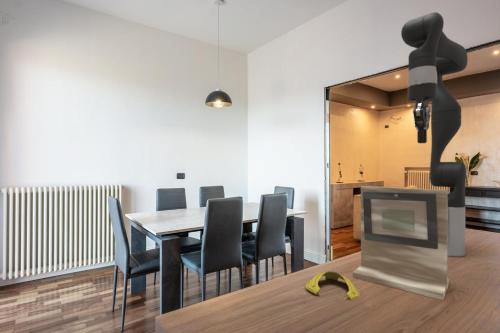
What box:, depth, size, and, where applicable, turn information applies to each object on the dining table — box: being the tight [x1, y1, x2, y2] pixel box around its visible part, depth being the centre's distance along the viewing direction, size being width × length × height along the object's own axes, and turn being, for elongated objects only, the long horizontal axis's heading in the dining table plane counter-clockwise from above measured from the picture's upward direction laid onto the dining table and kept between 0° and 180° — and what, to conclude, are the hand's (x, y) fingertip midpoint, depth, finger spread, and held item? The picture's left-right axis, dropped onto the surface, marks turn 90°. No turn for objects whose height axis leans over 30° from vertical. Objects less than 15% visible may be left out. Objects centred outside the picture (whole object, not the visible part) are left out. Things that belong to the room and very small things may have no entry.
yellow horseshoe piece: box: [305, 270, 361, 301], centre depth 75 cm, size 13×13×4 cm
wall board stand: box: [352, 185, 450, 301], centre depth 80 cm, size 12×22×26 cm, turn 49°
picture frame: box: [363, 192, 438, 249], centre depth 78 cm, size 2×18×14 cm, turn 50°
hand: (422, 143), depth 85 cm, fingers closed
